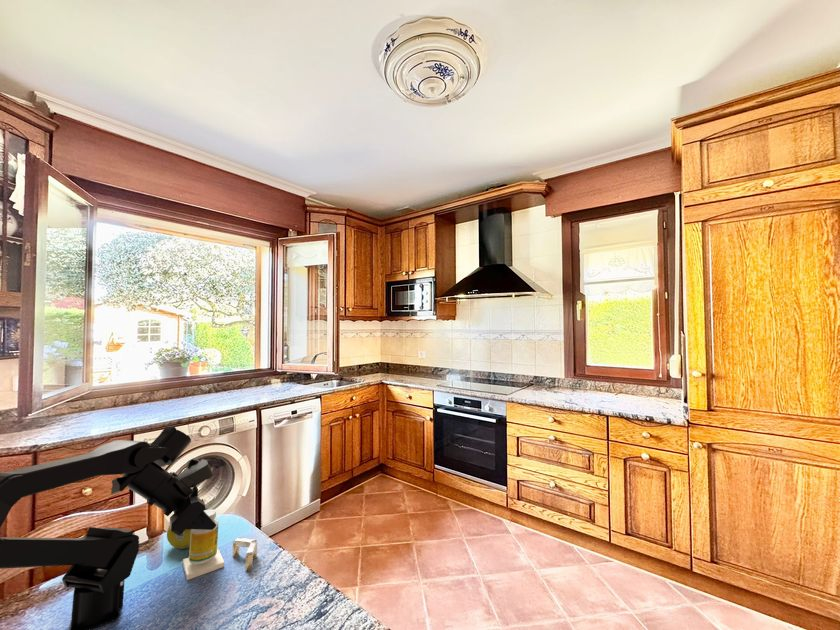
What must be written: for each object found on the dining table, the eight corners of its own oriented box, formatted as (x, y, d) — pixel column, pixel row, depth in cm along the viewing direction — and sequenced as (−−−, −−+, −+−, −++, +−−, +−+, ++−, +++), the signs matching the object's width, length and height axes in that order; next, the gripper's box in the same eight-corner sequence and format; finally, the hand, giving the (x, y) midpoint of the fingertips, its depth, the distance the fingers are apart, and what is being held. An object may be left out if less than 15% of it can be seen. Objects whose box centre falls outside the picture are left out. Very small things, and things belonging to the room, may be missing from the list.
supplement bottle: (187, 556, 78) (190, 512, 79) (214, 548, 82) (217, 505, 82) (190, 568, 74) (193, 521, 75) (218, 559, 77) (221, 514, 78)
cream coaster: (186, 580, 73) (186, 575, 73) (182, 564, 78) (183, 559, 78) (224, 566, 77) (224, 562, 77) (217, 552, 83) (218, 547, 83)
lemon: (155, 552, 82) (158, 517, 83) (183, 535, 90) (185, 503, 91) (194, 558, 80) (196, 522, 81) (219, 539, 88) (221, 507, 89)
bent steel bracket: (241, 574, 75) (241, 556, 75) (231, 554, 82) (232, 538, 82) (262, 565, 78) (263, 549, 78) (251, 547, 85) (252, 532, 85)
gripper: (195, 462, 70) (251, 503, 76) (184, 442, 85) (231, 478, 91) (143, 514, 65) (207, 554, 71) (140, 483, 79) (194, 519, 85)
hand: (212, 522), depth 79 cm, fingers open, 5 cm apart
